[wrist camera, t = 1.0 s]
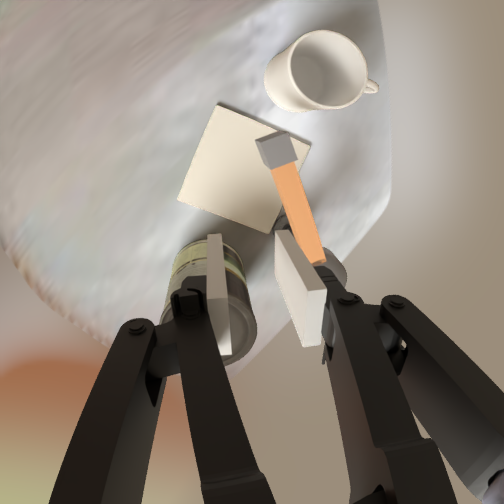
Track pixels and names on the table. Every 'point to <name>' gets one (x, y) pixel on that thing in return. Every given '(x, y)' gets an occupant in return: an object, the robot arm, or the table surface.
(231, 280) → the coffee can
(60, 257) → the table surface
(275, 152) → the swing arm
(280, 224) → the post
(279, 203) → the coaster
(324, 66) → the mug
